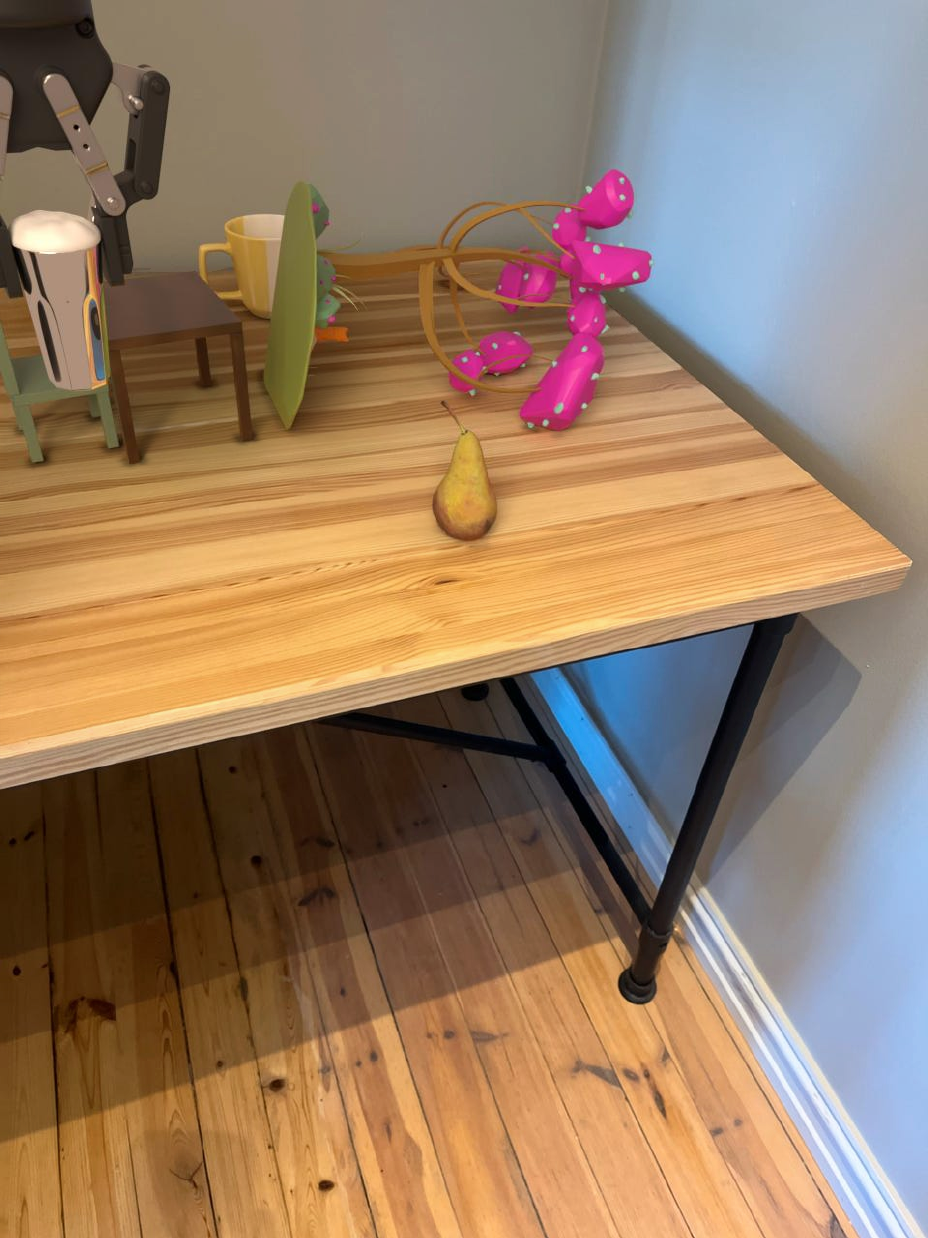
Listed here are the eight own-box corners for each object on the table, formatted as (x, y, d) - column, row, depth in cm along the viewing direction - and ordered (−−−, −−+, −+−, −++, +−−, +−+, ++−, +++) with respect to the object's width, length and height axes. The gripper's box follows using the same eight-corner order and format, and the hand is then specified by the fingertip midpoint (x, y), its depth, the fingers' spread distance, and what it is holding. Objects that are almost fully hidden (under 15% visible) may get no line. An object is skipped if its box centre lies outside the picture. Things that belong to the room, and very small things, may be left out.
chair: (25, 465, 84) (-27, 275, 73) (11, 426, 89) (-40, 244, 78) (120, 446, 87) (84, 263, 76) (101, 410, 92) (64, 234, 81)
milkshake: (149, 374, 54) (126, 194, 48) (74, 404, 50) (38, 212, 44) (97, 352, 56) (67, 175, 50) (20, 379, 52) (-22, 192, 46)
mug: (310, 295, 121) (306, 211, 114) (319, 325, 113) (316, 238, 107) (203, 298, 118) (193, 212, 111) (206, 329, 110) (195, 239, 104)
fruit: (451, 558, 77) (459, 430, 69) (420, 524, 81) (425, 398, 73) (507, 543, 79) (521, 417, 72) (475, 510, 83) (485, 387, 75)
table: (129, 464, 85) (105, 340, 78) (95, 401, 95) (70, 285, 87) (253, 439, 90) (242, 321, 83) (209, 382, 100) (195, 270, 92)
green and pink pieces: (283, 55, 86) (618, 121, 97) (258, 312, 108) (533, 343, 118) (307, 238, 69) (710, 294, 80) (272, 499, 91) (591, 515, 101)
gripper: (129, -109, 44) (176, 252, 55) (-219, -130, 38) (-89, 279, 49) (172, -99, 39) (215, 295, 50) (-219, -122, 33) (-75, 331, 44)
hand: (64, 285), depth 50 cm, fingers closed on milkshake, 4 cm apart
